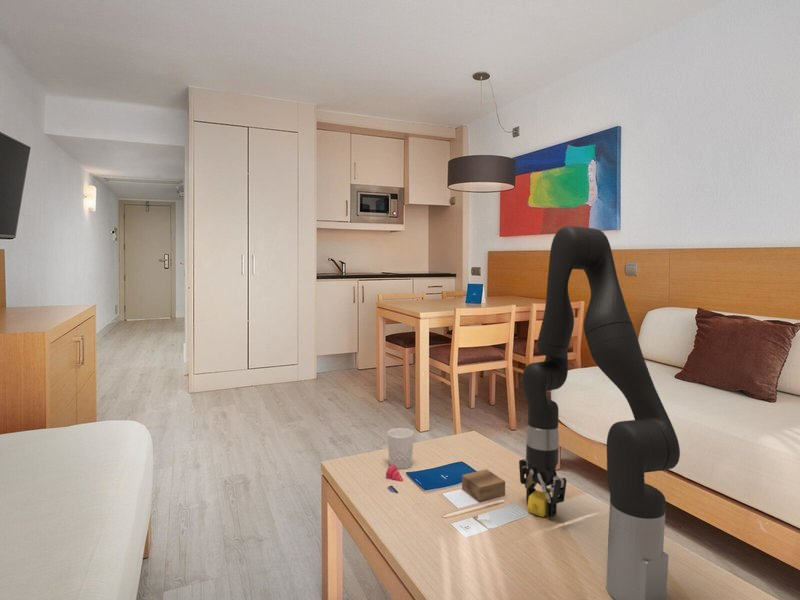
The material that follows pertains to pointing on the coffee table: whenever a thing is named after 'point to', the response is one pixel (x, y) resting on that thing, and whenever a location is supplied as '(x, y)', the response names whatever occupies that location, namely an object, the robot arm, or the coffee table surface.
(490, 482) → the base block
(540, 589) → the coffee table surface
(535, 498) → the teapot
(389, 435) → the white cup
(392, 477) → the toy pieces
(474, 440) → the coffee table surface
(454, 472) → the coffee table surface
